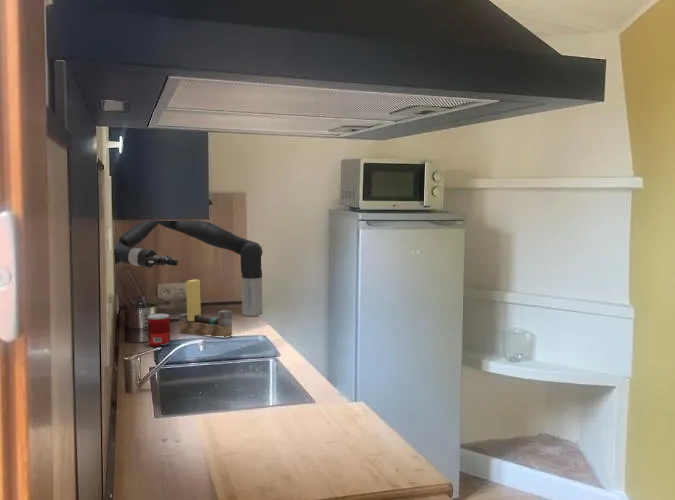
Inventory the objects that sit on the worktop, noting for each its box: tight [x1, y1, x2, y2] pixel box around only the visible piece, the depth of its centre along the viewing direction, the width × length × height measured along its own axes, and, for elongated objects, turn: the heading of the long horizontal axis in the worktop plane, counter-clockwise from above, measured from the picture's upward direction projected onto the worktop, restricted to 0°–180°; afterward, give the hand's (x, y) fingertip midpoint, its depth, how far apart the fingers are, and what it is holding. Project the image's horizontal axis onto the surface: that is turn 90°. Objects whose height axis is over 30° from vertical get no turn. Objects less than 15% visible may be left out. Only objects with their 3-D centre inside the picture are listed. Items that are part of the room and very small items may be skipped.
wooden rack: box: [178, 309, 233, 337], centre depth 266 cm, size 23×4×10 cm, turn 63°
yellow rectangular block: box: [186, 278, 202, 321], centre depth 268 cm, size 3×5×16 cm, turn 153°
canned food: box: [147, 313, 171, 347], centre depth 251 cm, size 8×8×11 cm
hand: (176, 263), depth 269 cm, fingers closed
